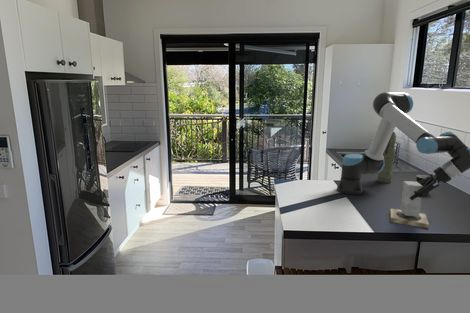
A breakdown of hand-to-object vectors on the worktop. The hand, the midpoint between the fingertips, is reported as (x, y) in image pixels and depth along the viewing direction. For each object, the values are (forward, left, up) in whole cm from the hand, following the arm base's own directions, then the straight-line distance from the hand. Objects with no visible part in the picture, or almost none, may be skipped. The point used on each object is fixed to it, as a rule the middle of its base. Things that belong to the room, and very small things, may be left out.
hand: (403, 199), depth 156 cm
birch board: (+3, 0, -10) cm, 11 cm away
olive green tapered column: (-8, +68, -11) cm, 69 cm away
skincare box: (+3, 0, -7) cm, 8 cm away
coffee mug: (+14, +55, -11) cm, 58 cm away
